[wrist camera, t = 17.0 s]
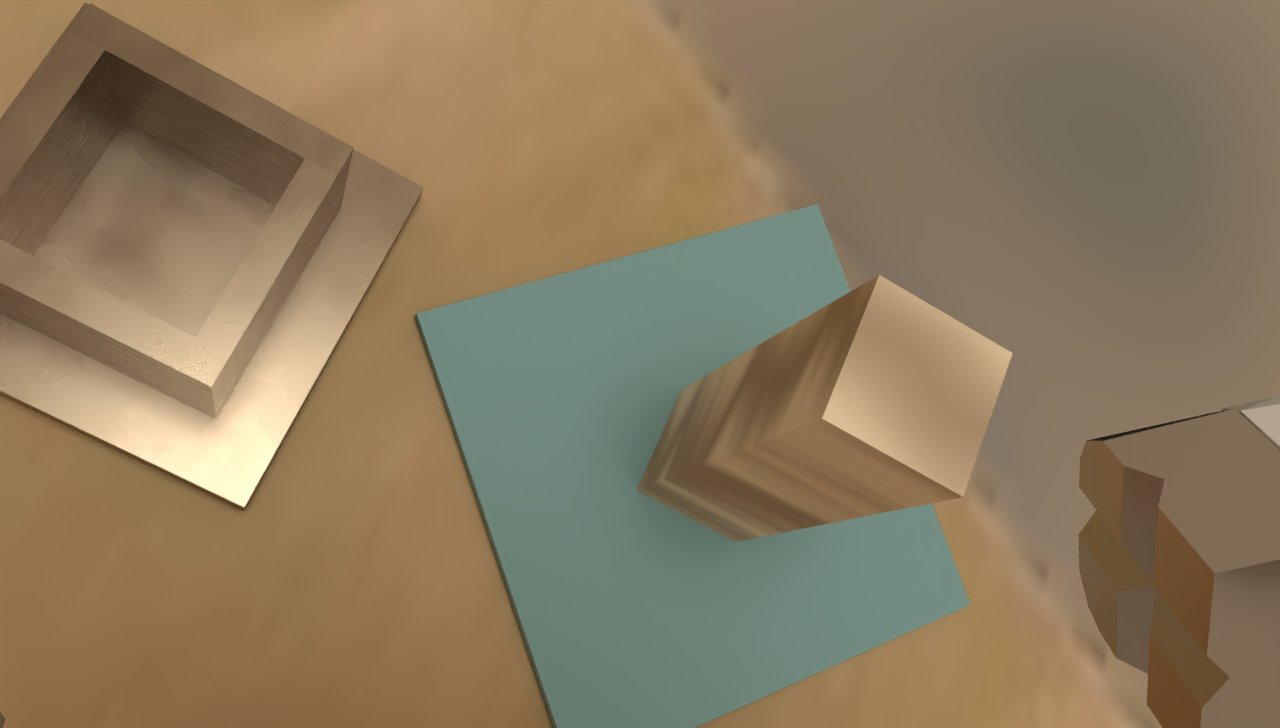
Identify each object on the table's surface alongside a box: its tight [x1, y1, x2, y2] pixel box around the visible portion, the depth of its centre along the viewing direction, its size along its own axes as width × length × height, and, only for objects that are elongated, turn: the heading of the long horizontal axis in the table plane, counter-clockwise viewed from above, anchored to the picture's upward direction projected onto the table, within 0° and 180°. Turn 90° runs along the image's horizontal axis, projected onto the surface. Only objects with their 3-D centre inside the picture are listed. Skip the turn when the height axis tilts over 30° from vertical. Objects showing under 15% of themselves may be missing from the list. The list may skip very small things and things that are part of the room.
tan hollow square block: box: [0, 3, 423, 510], centre depth 34 cm, size 12×12×6 cm
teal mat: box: [415, 204, 970, 728], centre depth 41 cm, size 16×16×1 cm
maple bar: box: [637, 275, 1012, 542], centre depth 34 cm, size 4×4×14 cm
